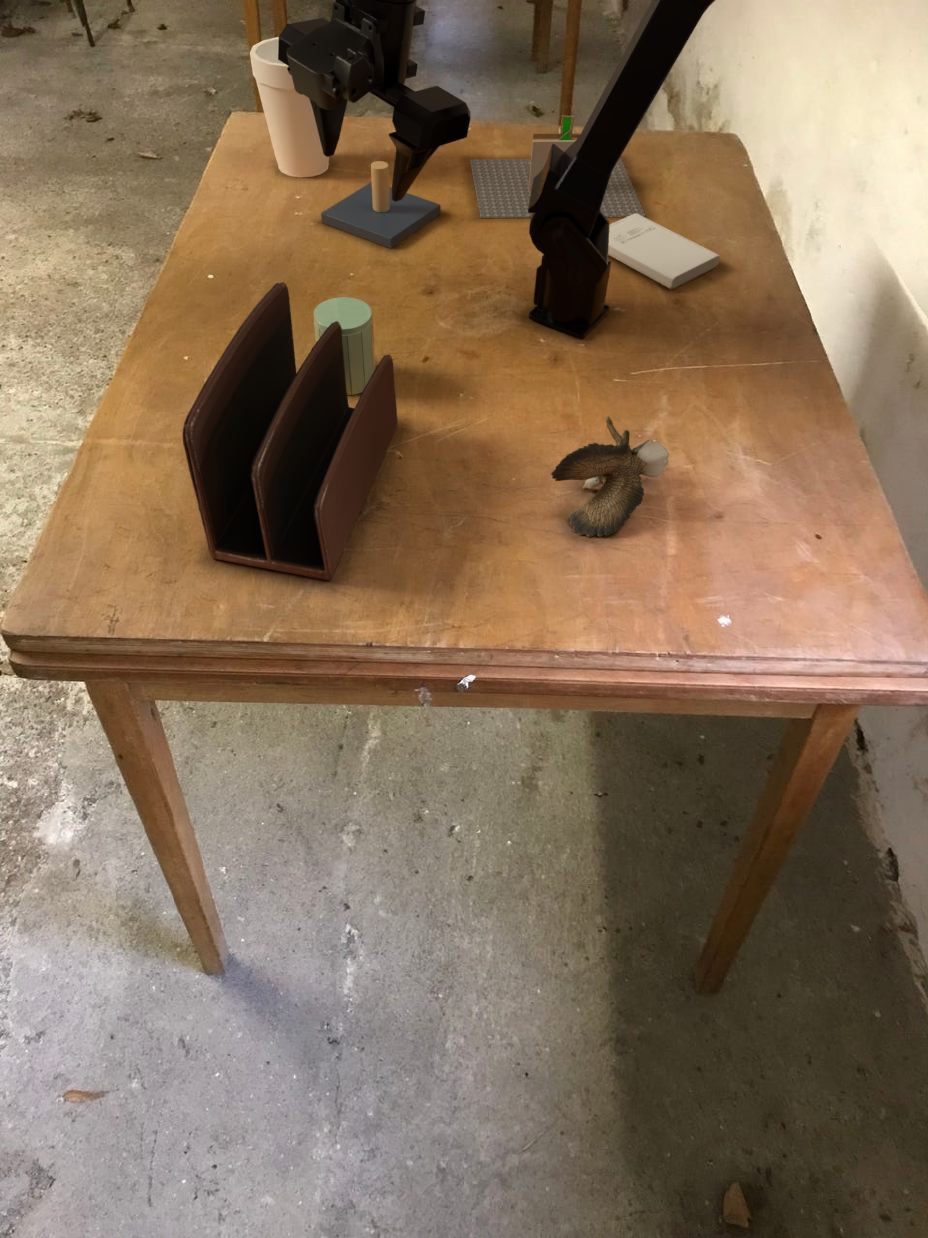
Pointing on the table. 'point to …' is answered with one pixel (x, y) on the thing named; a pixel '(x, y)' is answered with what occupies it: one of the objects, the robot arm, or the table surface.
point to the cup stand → (380, 211)
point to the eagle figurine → (610, 480)
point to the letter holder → (285, 445)
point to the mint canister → (350, 337)
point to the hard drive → (658, 251)
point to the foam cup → (287, 114)
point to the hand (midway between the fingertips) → (362, 177)
